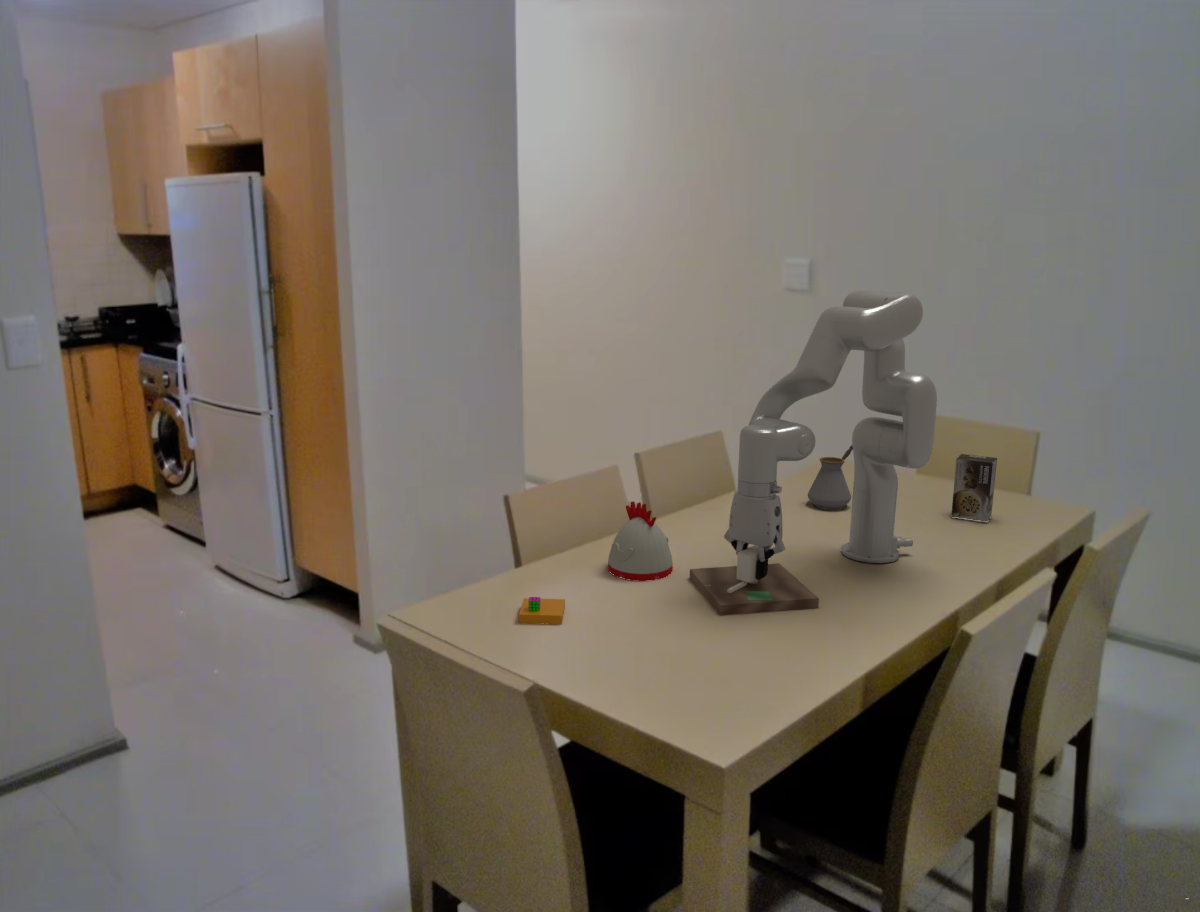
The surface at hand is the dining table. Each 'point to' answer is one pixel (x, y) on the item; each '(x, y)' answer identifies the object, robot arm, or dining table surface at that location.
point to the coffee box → (974, 487)
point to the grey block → (746, 567)
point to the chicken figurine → (640, 548)
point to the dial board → (753, 591)
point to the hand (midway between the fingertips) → (752, 574)
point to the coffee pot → (830, 484)
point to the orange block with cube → (542, 610)
